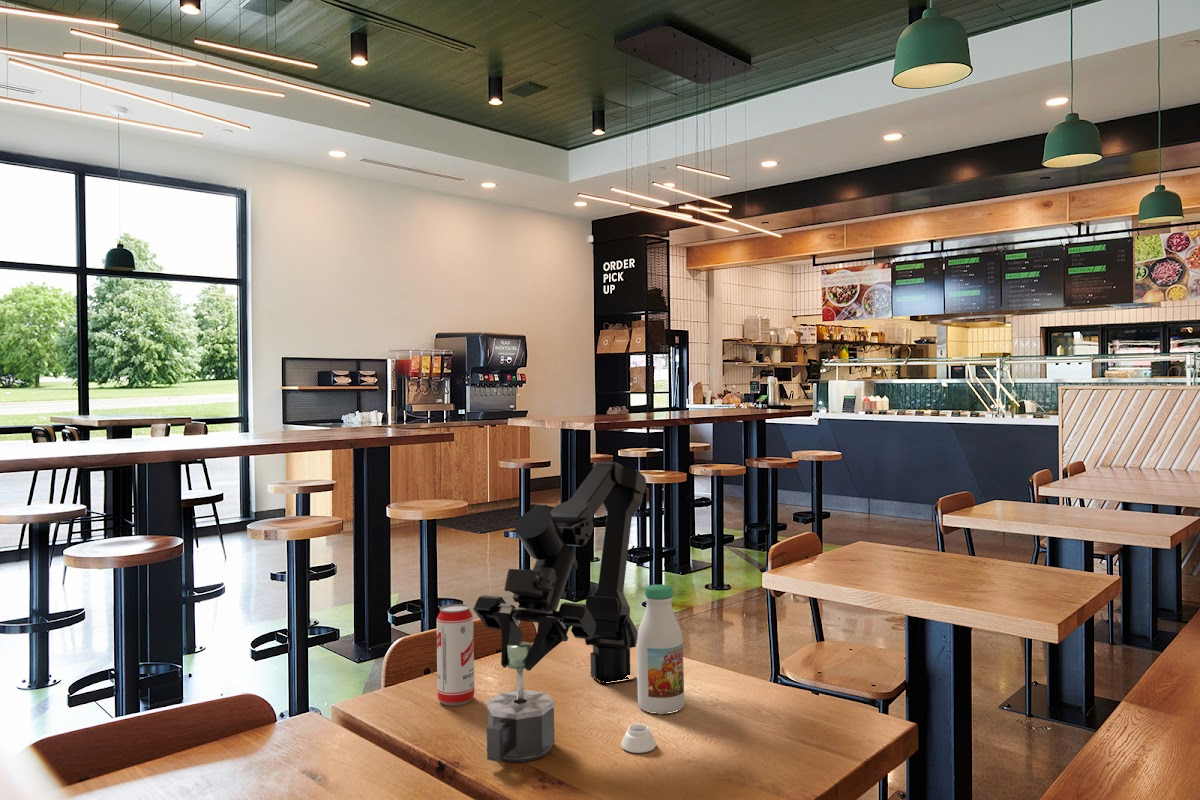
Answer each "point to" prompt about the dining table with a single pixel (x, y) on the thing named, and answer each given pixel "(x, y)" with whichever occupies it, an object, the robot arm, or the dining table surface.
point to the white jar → (638, 739)
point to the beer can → (455, 655)
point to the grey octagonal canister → (520, 727)
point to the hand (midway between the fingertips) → (515, 667)
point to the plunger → (518, 664)
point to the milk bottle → (660, 654)
